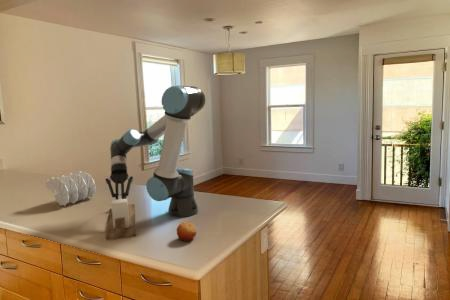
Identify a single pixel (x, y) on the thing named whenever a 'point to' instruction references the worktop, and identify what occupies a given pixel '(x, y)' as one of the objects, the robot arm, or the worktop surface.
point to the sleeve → (120, 211)
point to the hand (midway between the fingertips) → (120, 209)
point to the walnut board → (122, 225)
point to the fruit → (186, 231)
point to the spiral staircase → (72, 187)
